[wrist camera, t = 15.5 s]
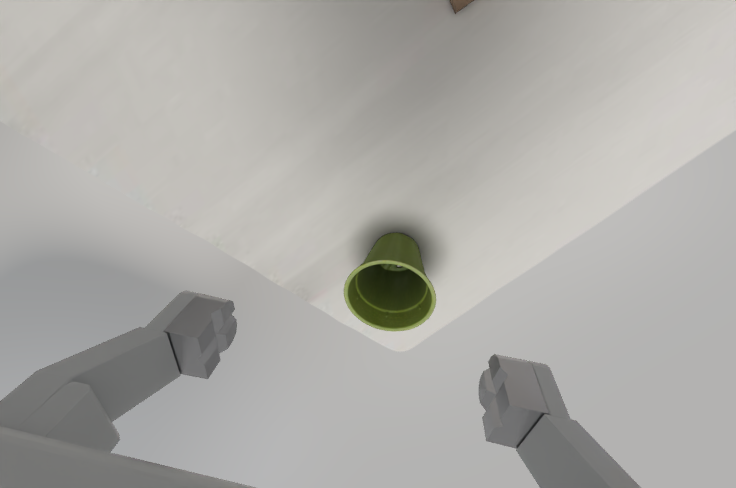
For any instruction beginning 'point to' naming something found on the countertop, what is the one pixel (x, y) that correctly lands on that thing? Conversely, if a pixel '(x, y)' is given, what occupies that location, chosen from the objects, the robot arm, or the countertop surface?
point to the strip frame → (459, 4)
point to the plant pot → (391, 286)
